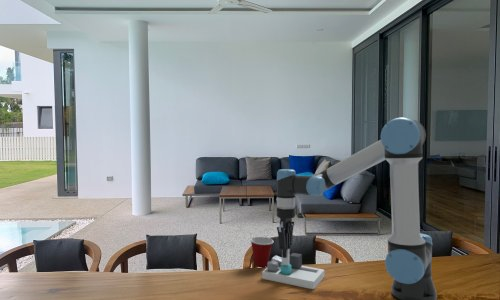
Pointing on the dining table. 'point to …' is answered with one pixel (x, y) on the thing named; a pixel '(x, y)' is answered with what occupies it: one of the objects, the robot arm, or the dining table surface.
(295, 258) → the slider knob
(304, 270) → the panel
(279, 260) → the white block with nub
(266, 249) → the plastic cup
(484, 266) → the dining table surface
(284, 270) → the teal button
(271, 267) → the grey button
